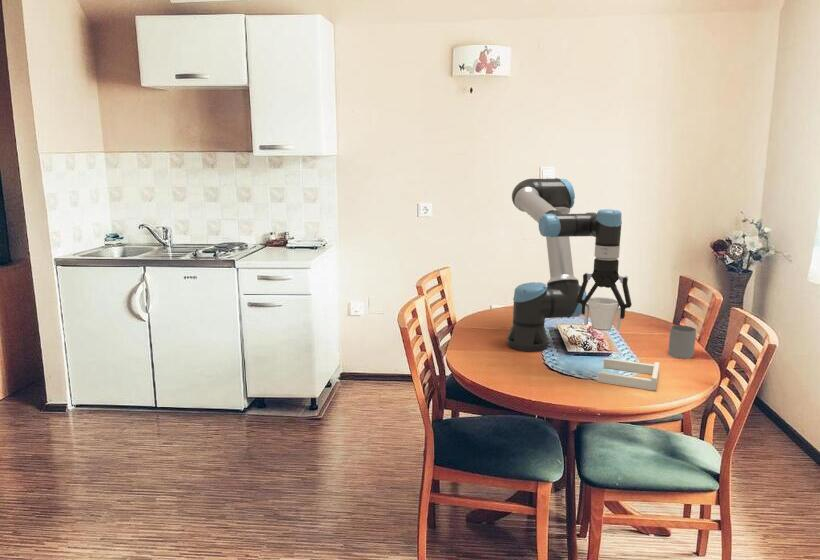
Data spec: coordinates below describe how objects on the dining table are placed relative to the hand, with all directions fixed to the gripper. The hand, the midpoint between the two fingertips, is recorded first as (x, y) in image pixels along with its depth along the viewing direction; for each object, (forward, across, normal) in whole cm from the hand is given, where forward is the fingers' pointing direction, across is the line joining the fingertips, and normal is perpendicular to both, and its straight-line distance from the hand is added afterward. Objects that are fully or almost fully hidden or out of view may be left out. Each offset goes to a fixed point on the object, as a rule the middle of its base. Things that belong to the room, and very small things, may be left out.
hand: (602, 326), depth 209 cm
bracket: (+17, +9, +1) cm, 19 cm away
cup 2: (+16, +23, +34) cm, 44 cm away
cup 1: (+1, 0, 0) cm, 1 cm away
